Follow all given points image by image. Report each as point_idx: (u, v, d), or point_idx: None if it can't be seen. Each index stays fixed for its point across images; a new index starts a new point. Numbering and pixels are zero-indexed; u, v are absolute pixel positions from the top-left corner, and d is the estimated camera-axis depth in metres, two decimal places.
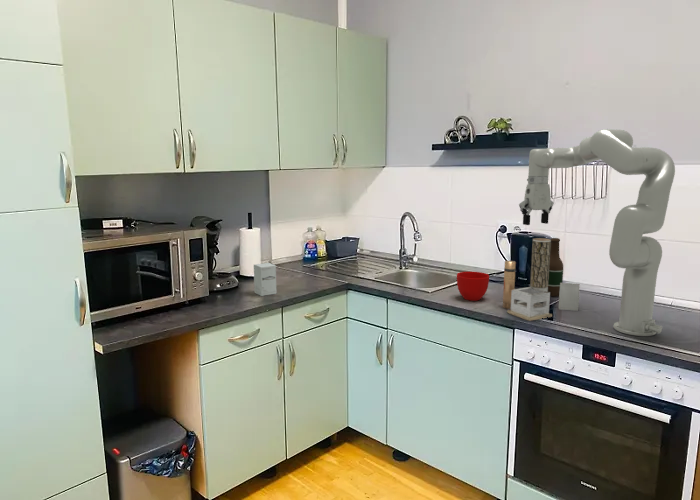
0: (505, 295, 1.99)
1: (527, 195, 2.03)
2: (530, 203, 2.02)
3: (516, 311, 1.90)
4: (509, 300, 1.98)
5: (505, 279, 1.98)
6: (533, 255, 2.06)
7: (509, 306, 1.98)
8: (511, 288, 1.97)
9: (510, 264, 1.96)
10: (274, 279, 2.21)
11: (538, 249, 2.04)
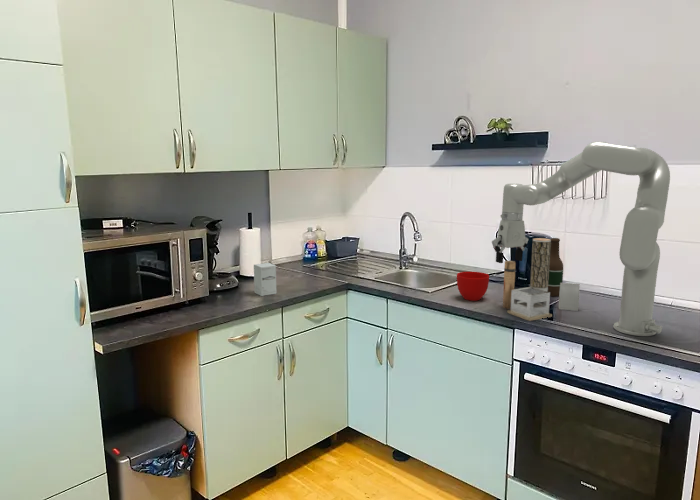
0: (505, 295, 1.99)
1: (501, 232, 1.93)
2: (503, 240, 1.92)
3: (516, 311, 1.90)
4: (509, 300, 1.98)
5: (505, 279, 1.98)
6: (533, 255, 2.06)
7: (509, 306, 1.98)
8: (511, 288, 1.97)
9: (510, 264, 1.96)
10: (274, 279, 2.21)
11: (538, 249, 2.04)
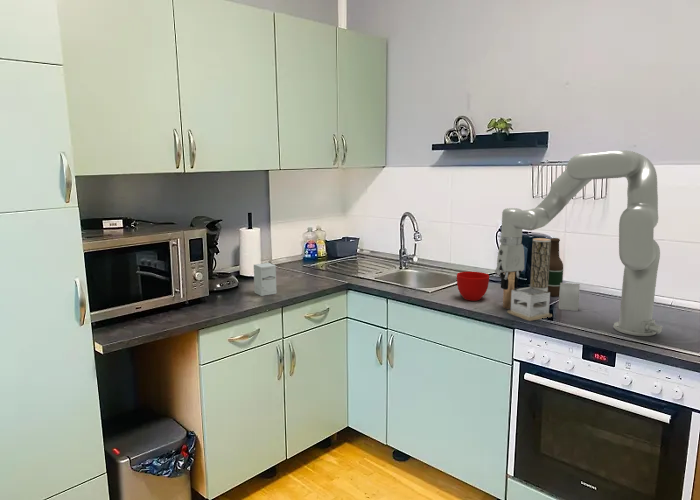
0: (505, 295, 1.99)
1: (500, 257, 1.95)
2: (503, 265, 1.94)
3: (516, 311, 1.90)
4: (509, 300, 1.98)
5: None
6: (533, 255, 2.06)
7: (509, 306, 1.98)
8: (511, 288, 1.97)
9: None
10: (274, 279, 2.21)
11: (538, 249, 2.04)
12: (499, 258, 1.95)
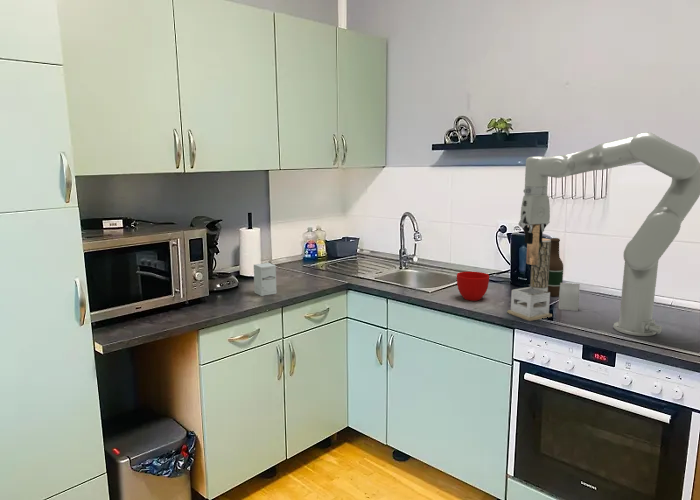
0: (529, 250, 1.86)
1: (524, 208, 1.82)
2: (527, 217, 1.81)
3: (516, 311, 1.90)
4: (533, 255, 1.85)
5: None
6: None
7: (534, 261, 1.86)
8: (536, 242, 1.84)
9: None
10: (274, 279, 2.21)
11: None
12: (523, 210, 1.83)
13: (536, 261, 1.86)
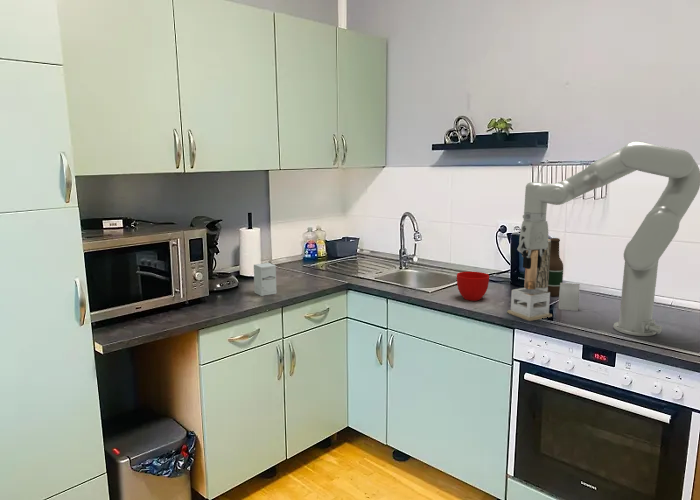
0: (527, 275, 1.87)
1: (523, 233, 1.83)
2: (526, 242, 1.82)
3: (516, 311, 1.90)
4: (531, 280, 1.87)
5: None
6: None
7: (532, 286, 1.87)
8: (534, 267, 1.86)
9: None
10: (274, 279, 2.21)
11: None
12: (522, 235, 1.84)
13: (534, 286, 1.87)
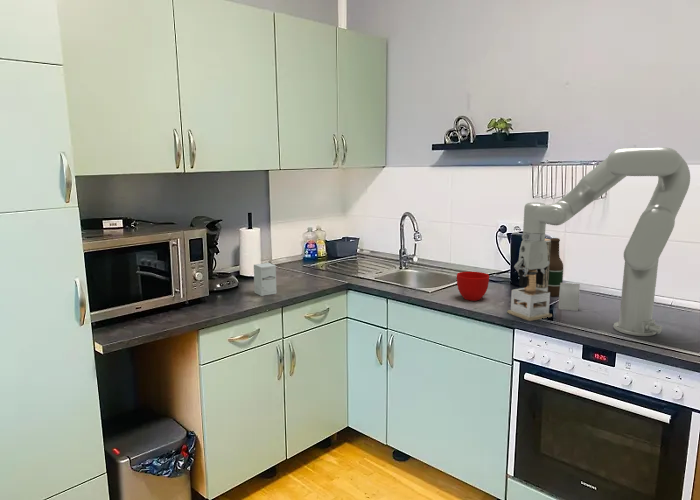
0: None
1: (522, 253, 1.85)
2: (525, 262, 1.84)
3: (516, 311, 1.90)
4: None
5: None
6: None
7: None
8: (532, 292, 1.87)
9: None
10: (274, 279, 2.21)
11: None
12: (521, 255, 1.85)
13: None
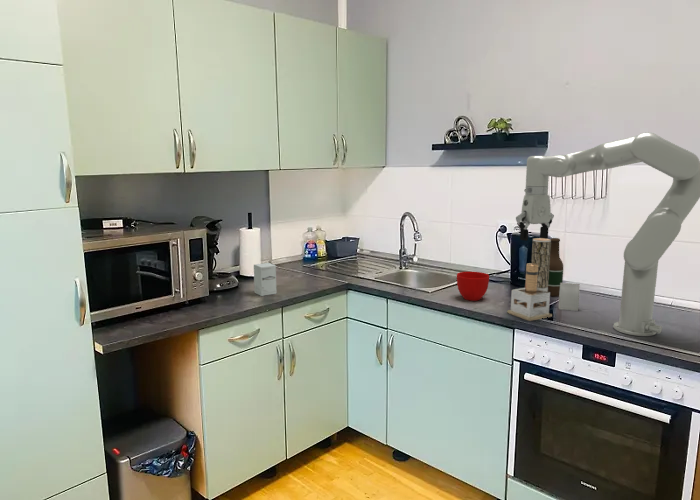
0: None
1: (525, 207, 1.82)
2: (528, 216, 1.81)
3: (516, 311, 1.90)
4: None
5: (527, 283, 1.88)
6: (533, 255, 2.06)
7: None
8: (533, 292, 1.87)
9: (532, 267, 1.86)
10: (274, 279, 2.21)
11: (538, 249, 2.04)
12: (524, 209, 1.82)
13: None
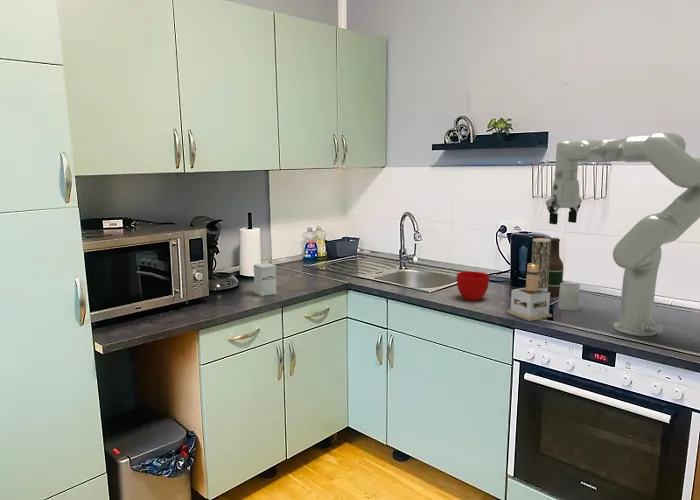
0: None
1: (555, 192, 1.86)
2: (558, 200, 1.85)
3: (516, 311, 1.90)
4: None
5: (528, 282, 1.88)
6: (533, 255, 2.06)
7: None
8: (534, 292, 1.87)
9: (533, 267, 1.86)
10: (274, 279, 2.21)
11: (538, 249, 2.04)
12: (553, 194, 1.86)
13: None
